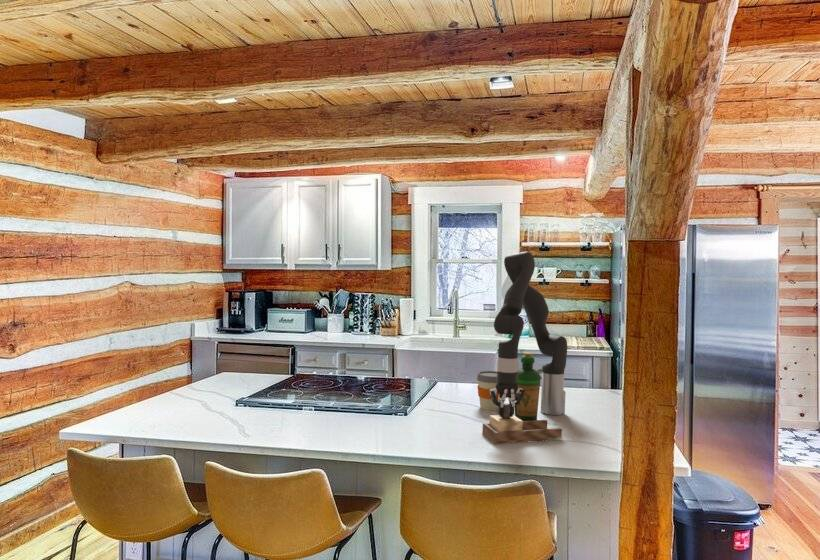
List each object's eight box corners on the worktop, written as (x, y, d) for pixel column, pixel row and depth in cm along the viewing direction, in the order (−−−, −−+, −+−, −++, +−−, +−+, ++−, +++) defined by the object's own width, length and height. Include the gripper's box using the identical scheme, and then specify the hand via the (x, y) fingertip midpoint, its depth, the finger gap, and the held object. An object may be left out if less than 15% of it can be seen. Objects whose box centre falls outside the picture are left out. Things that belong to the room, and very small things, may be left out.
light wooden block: (511, 430, 224) (512, 401, 223) (522, 437, 215) (523, 407, 214) (489, 431, 221) (490, 402, 221) (499, 438, 212) (500, 408, 212)
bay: (545, 430, 229) (545, 419, 229) (561, 439, 217) (562, 429, 217) (482, 433, 222) (482, 423, 222) (495, 444, 210) (495, 433, 210)
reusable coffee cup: (492, 413, 252) (493, 377, 251) (470, 406, 261) (471, 373, 260) (511, 408, 260) (512, 374, 259) (489, 402, 269) (490, 369, 269)
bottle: (523, 427, 232) (525, 356, 230) (506, 420, 241) (509, 351, 240) (544, 424, 236) (547, 354, 235) (527, 417, 246) (530, 350, 245)
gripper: (520, 367, 222) (519, 413, 223) (485, 368, 219) (484, 414, 219) (529, 371, 215) (528, 418, 216) (493, 372, 211) (492, 420, 212)
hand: (505, 416), depth 218 cm, fingers closed on light wooden block, 3 cm apart
